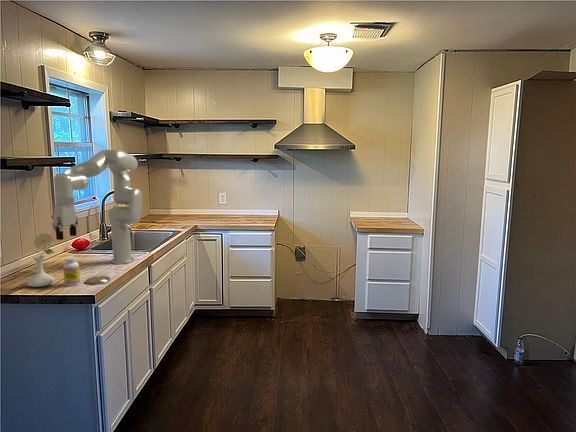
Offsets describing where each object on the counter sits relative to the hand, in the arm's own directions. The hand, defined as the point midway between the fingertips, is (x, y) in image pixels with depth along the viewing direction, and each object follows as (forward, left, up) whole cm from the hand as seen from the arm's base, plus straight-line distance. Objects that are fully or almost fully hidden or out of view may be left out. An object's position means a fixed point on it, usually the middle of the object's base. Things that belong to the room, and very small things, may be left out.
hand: (66, 237), depth 196 cm
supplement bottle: (+1, +2, -23) cm, 23 cm away
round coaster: (-4, +12, -23) cm, 26 cm away
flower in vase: (+3, -11, -23) cm, 26 cm away
